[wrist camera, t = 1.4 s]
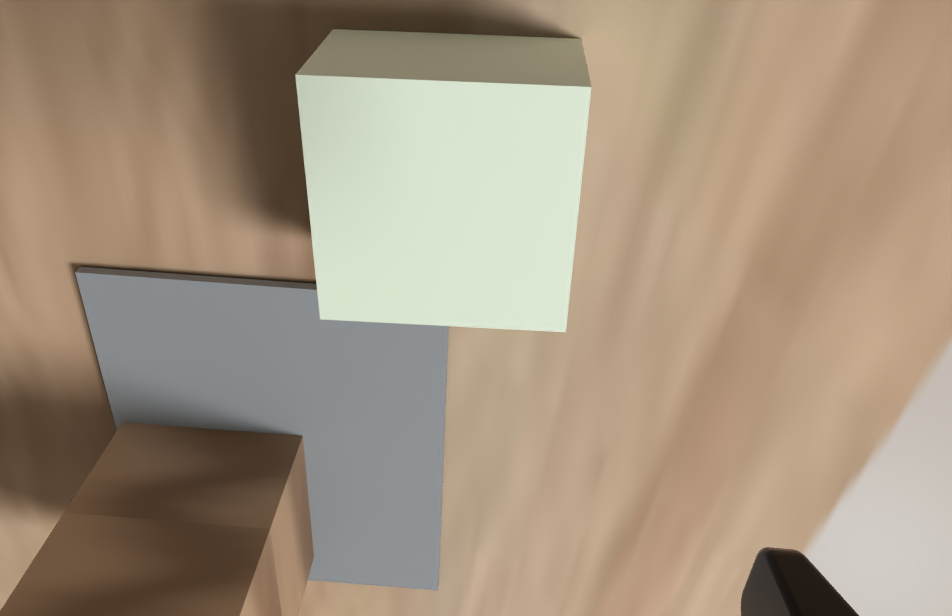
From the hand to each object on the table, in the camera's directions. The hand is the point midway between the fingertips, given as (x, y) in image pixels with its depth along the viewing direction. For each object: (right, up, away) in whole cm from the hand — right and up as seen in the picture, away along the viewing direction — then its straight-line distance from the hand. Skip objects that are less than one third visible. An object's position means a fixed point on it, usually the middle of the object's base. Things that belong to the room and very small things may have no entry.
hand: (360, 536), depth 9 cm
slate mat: (-5, -2, +16) cm, 16 cm away
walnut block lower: (-7, -3, +16) cm, 18 cm away
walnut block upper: (-7, -5, +13) cm, 16 cm away
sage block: (+1, +6, +10) cm, 12 cm away
